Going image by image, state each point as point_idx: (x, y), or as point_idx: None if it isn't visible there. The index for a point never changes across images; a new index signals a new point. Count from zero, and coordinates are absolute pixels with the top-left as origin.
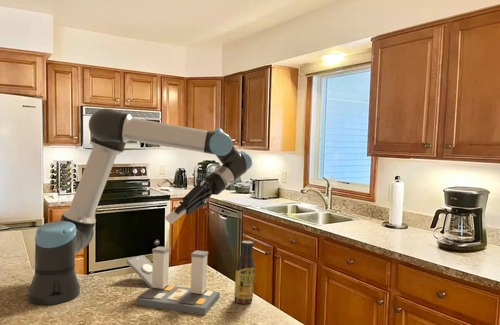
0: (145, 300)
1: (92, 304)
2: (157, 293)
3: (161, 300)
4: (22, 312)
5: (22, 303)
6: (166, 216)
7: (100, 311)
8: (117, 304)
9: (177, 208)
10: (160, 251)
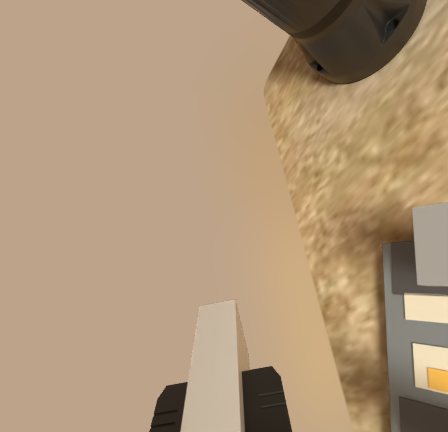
0: (384, 275)
1: (354, 144)
2: (442, 291)
3: (398, 327)
4: (286, 76)
5: None
6: (199, 314)
7: (329, 191)
8: (376, 196)
9: (156, 422)
10: (418, 261)
